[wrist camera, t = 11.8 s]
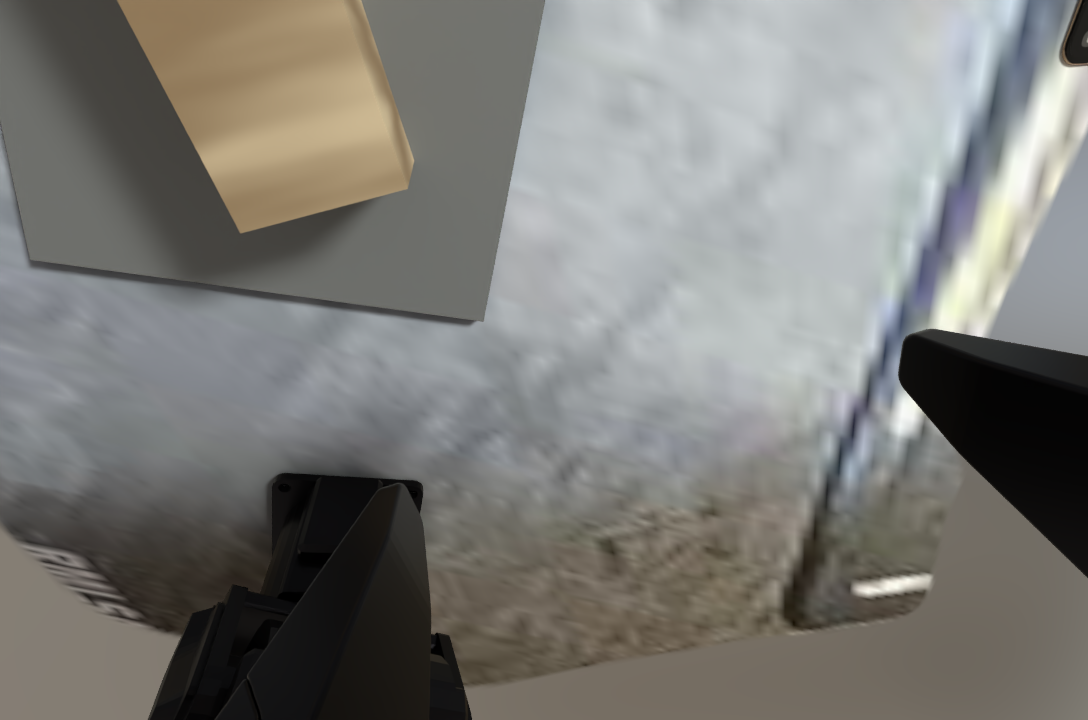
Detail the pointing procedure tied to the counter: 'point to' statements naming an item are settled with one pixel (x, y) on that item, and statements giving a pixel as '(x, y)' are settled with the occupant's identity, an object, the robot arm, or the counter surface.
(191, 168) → the mat
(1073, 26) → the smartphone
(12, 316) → the counter surface
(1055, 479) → the robot arm
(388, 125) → the block
